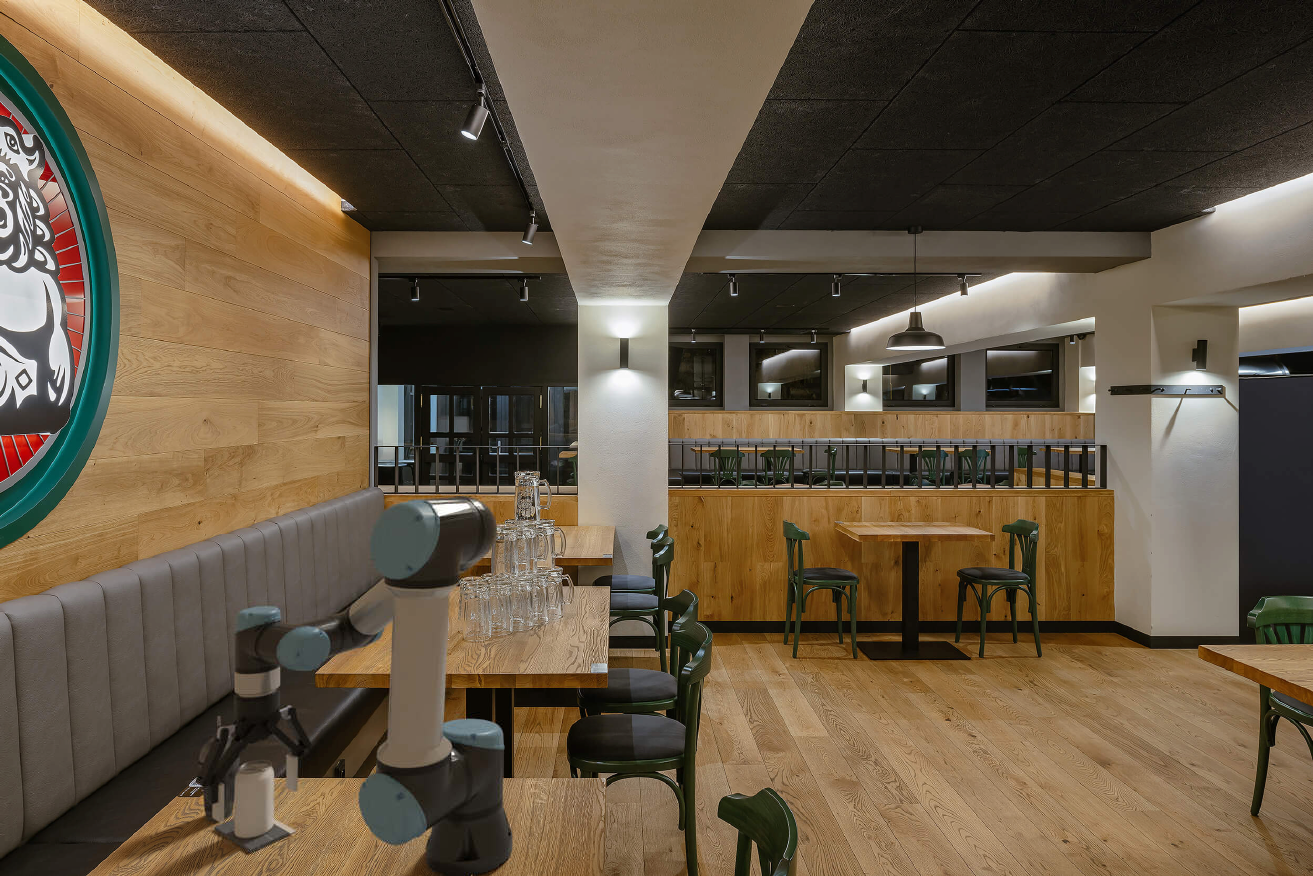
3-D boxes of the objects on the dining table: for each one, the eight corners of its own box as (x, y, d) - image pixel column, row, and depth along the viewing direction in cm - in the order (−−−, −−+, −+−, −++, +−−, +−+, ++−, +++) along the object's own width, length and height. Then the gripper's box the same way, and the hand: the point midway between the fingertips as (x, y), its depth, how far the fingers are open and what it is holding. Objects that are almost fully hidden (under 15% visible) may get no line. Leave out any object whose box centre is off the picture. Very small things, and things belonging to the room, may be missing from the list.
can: (256, 842, 131) (256, 776, 131) (225, 837, 132) (226, 772, 133) (281, 823, 138) (282, 760, 138) (252, 819, 139) (252, 757, 139)
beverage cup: (244, 804, 146) (245, 705, 146) (235, 822, 139) (236, 719, 139) (203, 809, 144) (204, 709, 144) (192, 828, 137) (193, 723, 137)
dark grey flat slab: (295, 832, 135) (295, 829, 135) (250, 853, 129) (250, 850, 129) (259, 811, 143) (259, 808, 143) (214, 830, 136) (214, 826, 136)
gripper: (309, 669, 148) (309, 773, 148) (174, 706, 127) (173, 826, 127) (330, 676, 144) (329, 783, 143) (194, 715, 123) (193, 840, 123)
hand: (256, 803), depth 135 cm, fingers open, 13 cm apart
